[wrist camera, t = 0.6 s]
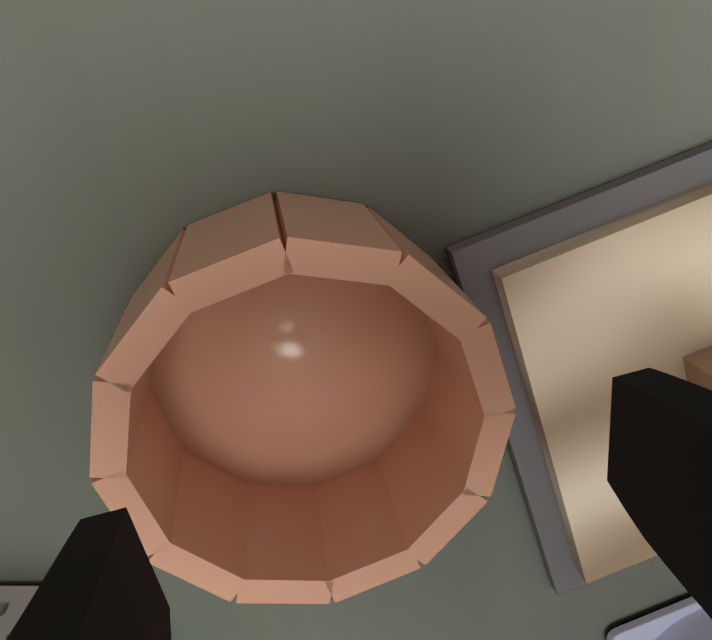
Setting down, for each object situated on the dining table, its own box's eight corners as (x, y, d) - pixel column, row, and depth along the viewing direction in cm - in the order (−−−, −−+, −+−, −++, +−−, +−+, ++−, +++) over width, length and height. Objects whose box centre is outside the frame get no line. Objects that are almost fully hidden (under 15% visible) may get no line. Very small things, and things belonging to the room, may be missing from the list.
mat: (897, 443, 26) (911, 451, 25) (551, 584, 26) (557, 595, 25) (901, 65, 20) (920, 65, 19) (445, 247, 19) (451, 252, 19)
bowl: (485, 421, 22) (547, 516, 18) (214, 530, 22) (207, 654, 17) (394, 142, 18) (445, 171, 13) (62, 274, 18) (0, 349, 13)
